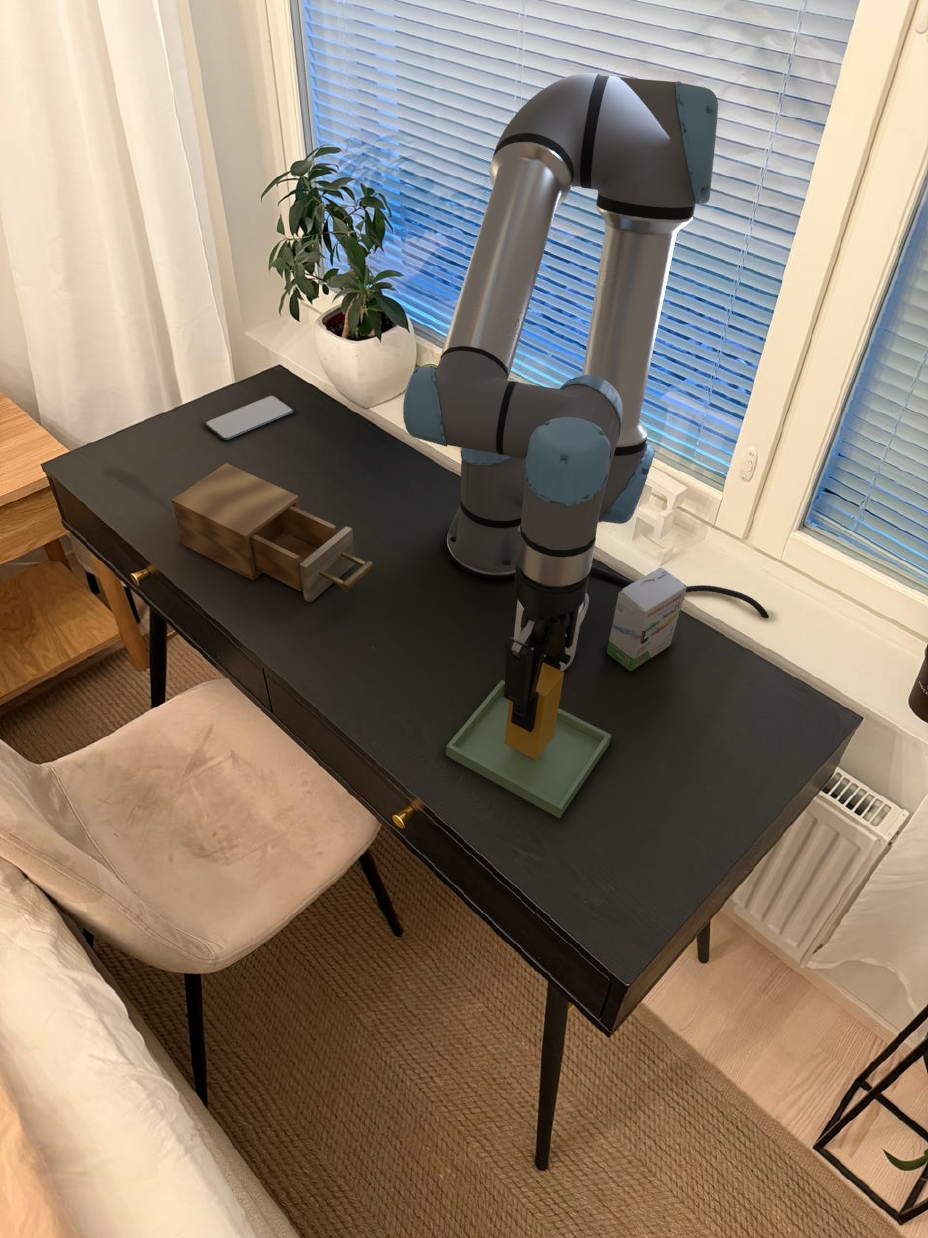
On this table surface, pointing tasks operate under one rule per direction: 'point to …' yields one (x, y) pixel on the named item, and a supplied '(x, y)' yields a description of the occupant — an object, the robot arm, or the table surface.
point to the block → (538, 715)
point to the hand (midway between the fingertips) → (533, 711)
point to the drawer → (306, 553)
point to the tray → (533, 780)
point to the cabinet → (229, 515)
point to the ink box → (645, 618)
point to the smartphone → (249, 417)
